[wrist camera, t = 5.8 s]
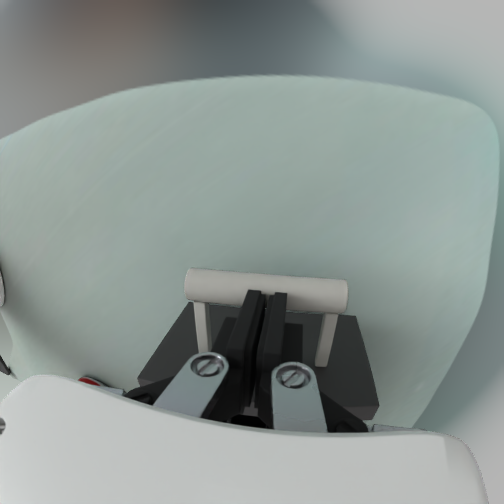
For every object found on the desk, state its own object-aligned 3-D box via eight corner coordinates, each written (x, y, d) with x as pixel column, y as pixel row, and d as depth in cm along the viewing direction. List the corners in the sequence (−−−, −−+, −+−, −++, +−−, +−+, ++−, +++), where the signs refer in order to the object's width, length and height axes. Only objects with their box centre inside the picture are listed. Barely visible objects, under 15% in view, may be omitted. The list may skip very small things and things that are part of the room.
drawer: (183, 235, 17) (113, 292, 10) (369, 247, 16) (416, 319, 8) (205, 421, 24) (183, 483, 16) (319, 433, 22) (318, 500, 15)
